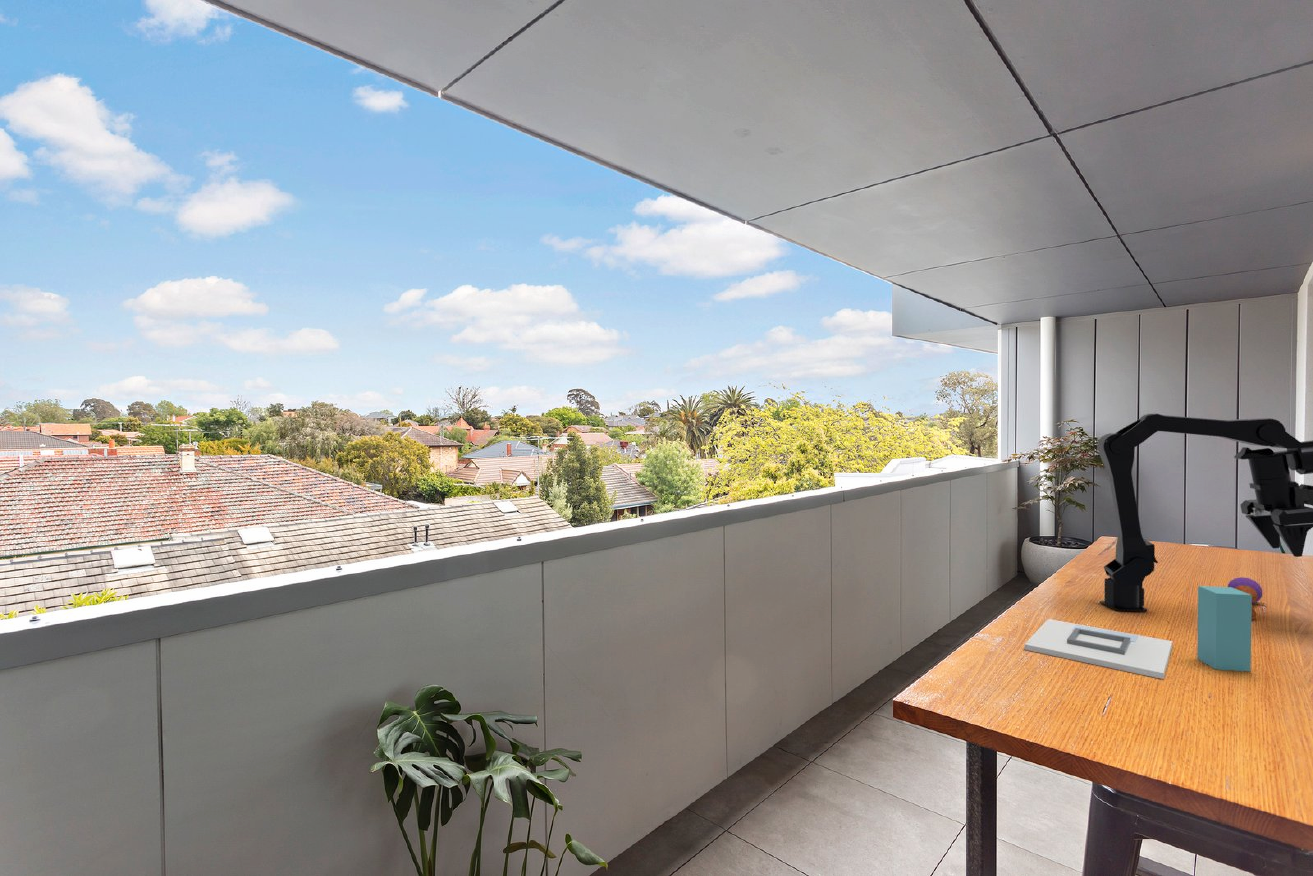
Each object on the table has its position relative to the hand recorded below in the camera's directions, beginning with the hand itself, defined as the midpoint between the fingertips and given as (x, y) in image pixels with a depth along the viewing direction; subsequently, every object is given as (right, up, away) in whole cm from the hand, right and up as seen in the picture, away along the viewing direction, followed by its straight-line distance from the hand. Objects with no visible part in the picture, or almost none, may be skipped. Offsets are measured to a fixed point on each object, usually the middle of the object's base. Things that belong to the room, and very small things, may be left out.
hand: (1286, 552), depth 128 cm
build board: (-48, -16, -13) cm, 52 cm away
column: (-33, -16, -21) cm, 42 cm away
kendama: (+1, -15, +11) cm, 18 cm away
